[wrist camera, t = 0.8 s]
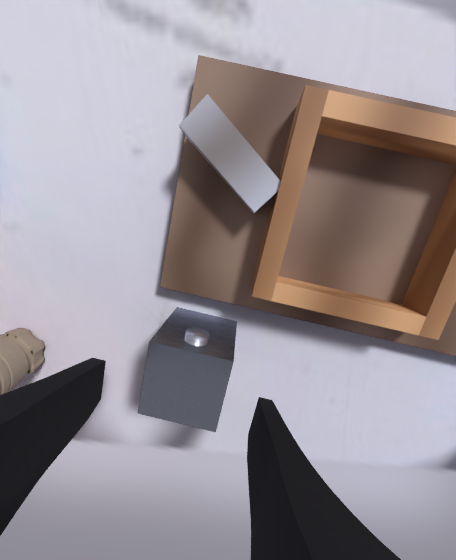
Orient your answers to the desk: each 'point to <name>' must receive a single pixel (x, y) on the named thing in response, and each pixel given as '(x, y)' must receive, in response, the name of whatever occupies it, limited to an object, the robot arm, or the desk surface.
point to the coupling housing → (317, 205)
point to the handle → (18, 357)
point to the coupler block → (188, 369)
